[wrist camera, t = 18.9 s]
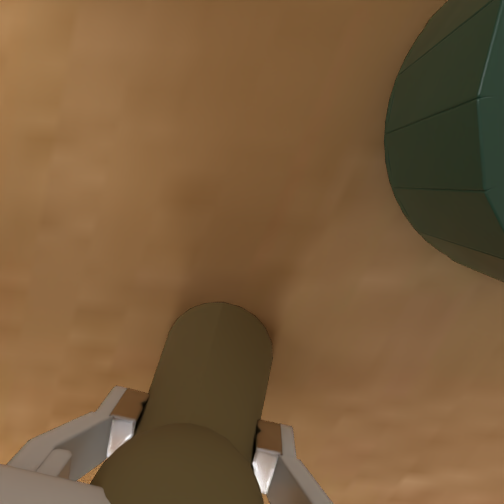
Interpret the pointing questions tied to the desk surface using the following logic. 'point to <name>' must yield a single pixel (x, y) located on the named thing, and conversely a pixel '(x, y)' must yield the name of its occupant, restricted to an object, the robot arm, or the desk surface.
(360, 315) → the desk surface
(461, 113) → the tin
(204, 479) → the cork
